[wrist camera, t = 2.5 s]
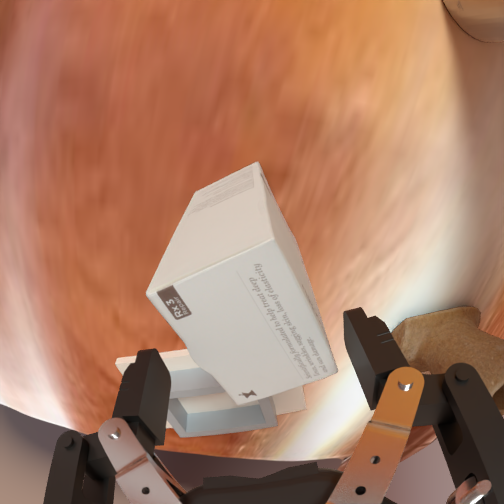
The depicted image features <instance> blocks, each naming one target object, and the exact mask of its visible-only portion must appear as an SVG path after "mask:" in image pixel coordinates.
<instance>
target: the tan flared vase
mask: <svg viewBox="0 0 504 504" xmlns="http://www.w3.org/2000/svg"><path fill="white" fill-rule="evenodd" d="M479 323H480V311H479V309H478V308H476V307H471V306H467V307H456V308H452V309H447V310H442V311H437V312H433V313H428V314H424V315H419V316H414V317H410V318H406V319H405V320H404V321H402V323H401V324H400V325H398V326H397V327H396V328H395V330H394V331H393V332H392V333H391V334H392V336H393V337H394V340H395V341H396V343H397V344H398V346H399V348H400V350H401V351H402V353H403V355H404V357H405V358H406V360H407V362H408V364H409V365H410V367H412V368H415V369H417V370H418V371H419V372H425V371H430V372H431V374H443V373H446V371H447V369H448V368H449V367H450V366H451V365H453V364H455V363H467V364H470V365H472V366H473V367H474V368H475V369H476V370H477V372H478V374H479V375H480V377H481V379H482V380H483V382H484V384H485V386H486V387H487V389H488V391H489V393H490V394H491V396H492V398H493V400H494V402H495V404H496V405H497V407H498V409H499V411H500V413H501V415H504V340H503V339H501V338H499V337H496V336H493V335H490V334H488V333H486V332H483V331H481V330H480V329H478V326H479Z"/></svg>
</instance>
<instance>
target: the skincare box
mask: <svg viewBox="0 0 504 504" xmlns="http://www.w3.org/2000/svg"><path fill="white" fill-rule="evenodd" d="M146 296H147V297H148V299H149V300H150V301H151V302H152V304H153V305H154V306H155V307H156V309H157V310H158V311H159V312H160V314H161V315H162V316H163V317H164V319H165V320H166V321H167V322H168V323H169V325H170V326H171V327H172V328H173V330H174V331H175V332H176V333H177V335H178V336H179V337H180V338H181V339H182V341H183V342H184V343H185V345H186V347H187V349H188V352H189V354H190V356H191V358H192V359H193V360H194V362H195V363H196V364H197V365H198V366H199V367H200V368H201V369H203V370H205V371H206V372H208V373H209V374H211V375H212V376H213V377H214V378H215V379H216V381H217V382H218V383H219V384H220V385H221V386H222V387H223V389H224V390H225V391H226V392H227V394H228V395H229V397H230V398H231V399H232V401H233V402H234V403H235V404H237V405H243V404H246V403H249V402H253V401H256V400H260V399H263V398H266V397H270V396H273V395H276V394H279V393H281V392H284V391H287V390H290V389H293V388H296V387H299V386H302V385H305V384H308V383H311V382H314V381H317V380H320V379H323V378H326V377H328V376H331V375H333V374H335V373H337V372H338V368H337V365H336V363H335V360H334V357H333V354H332V351H331V348H330V345H329V342H328V338H327V335H326V332H325V328H324V325H323V322H322V319H321V315H320V312H319V309H318V306H317V303H316V299H315V296H314V293H313V290H312V287H311V284H310V280H309V277H308V274H307V272H306V269H305V266H304V263H303V259H302V256H301V253H300V250H299V247H298V244H297V241H296V239H295V237H294V235H293V234H292V232H291V231H290V229H289V227H288V225H287V223H286V221H285V219H284V217H283V215H282V213H281V211H280V209H279V207H278V205H277V203H276V200H275V198H274V196H273V194H272V192H271V189H270V187H269V185H268V183H267V181H266V178H265V176H264V173H263V171H262V168H261V166H260V164H259V162H255V163H253V164H251V165H249V166H247V167H245V168H243V169H241V170H239V171H237V172H234V173H232V174H230V175H228V176H226V177H224V178H222V179H220V180H218V181H216V182H214V183H212V184H210V185H209V186H207V187H205V188H203V189H200V190H199V191H197V192H195V193H194V195H193V197H192V199H191V201H190V203H189V205H188V207H187V209H186V211H185V213H184V215H183V217H182V219H181V221H180V223H179V225H178V227H177V228H176V230H175V232H174V235H173V237H172V239H171V241H170V243H169V245H168V247H167V249H166V251H165V253H164V255H163V257H162V260H161V262H160V264H159V266H158V268H157V270H156V272H155V274H154V276H153V279H152V281H151V283H150V285H149V287H148V289H147V291H146Z"/></svg>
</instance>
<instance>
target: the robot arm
mask: <svg viewBox="0 0 504 504" xmlns="http://www.w3.org/2000/svg"><path fill="white" fill-rule="evenodd" d="M443 2H444V4H445V5H446V7H447V9H448V11H449V13H450V14H451V16H452V17H453V19H454V20H455V21H456V22H457V23H458V25H459V26H460V27H461V28H462V29H463V30H464V31H466V32H467V33H468V34H469V35H471V36H472V37H474V38H475V39H478V40H480V41H484V42H504V0H443ZM343 318H344V340H345V346H346V349H347V352H348V355H349V357H350V359H351V362H352V364H353V367H354V369H355V372H356V374H357V377H358V379H359V382H360V384H361V387H362V389H363V392H364V394H365V397H366V399H367V402H368V405H369V407H370V410H374V409H376V410H375V412H374V415H373V417H372V419H371V421H369V422H368V423H367V425H366V427H365V429H364V432H363V434H362V436H361V438H360V440H359V442H358V444H357V447H356V449H355V451H354V453H353V455H352V457H351V459H350V461H349V463H348V465H347V467H346V468H345V470H344V472H342V471H338V470H334V469H328V468H318V466H317V462H314V463H310V464H304V465H300V466H295V467H289V468H286V469H284V470H281V471H279V472H276V473H274V474H271V475H269V476H266V477H263V478H259V479H256V478H246V477H236V476H221V477H209V478H204V480H203V481H204V482H203V485H200V486H198V487H196V488H194V489H192V490H190V491H188V492H186V491H185V490H184V489H183V488H182V487H181V486H180V485H179V483H178V482H177V481H176V480H175V479H174V477H173V476H172V475H171V474H170V472H169V471H168V470H167V469H166V467H165V466H164V465H163V463H162V462H161V461H160V459H159V458H158V457H157V455H156V454H155V453H154V448H155V446H157V445H164V440H165V431H166V422H167V414H168V406H169V398H170V391H171V376H170V373H169V370H168V369H167V367H166V365H165V363H164V361H163V360H162V358H161V356H160V354H159V352H158V351H157V349H155V348H154V349H147V350H140V351H138V353H137V357H136V360H135V363H130V365H129V366H128V367H127V369H126V370H125V371H124V374H123V378H122V381H121V382H122V383H121V385H120V388H119V389H120V391H119V392H118V396H117V400H116V404H115V407H114V411H113V415H112V418H111V419H109V420H107V421H105V422H104V423H103V424H102V425H101V427H100V428H99V431H98V432H96V433H93V434H89V435H86V436H81V435H80V434H79V433H78V432H77V431H74V430H70V431H67V432H65V433H64V434H62V435H61V436H60V437H59V439H58V440H57V443H56V447H55V451H54V455H53V459H52V464H51V468H50V473H49V477H48V482H47V487H46V492H45V497H44V503H43V504H113V500H114V489H115V479H116V480H117V482H118V484H119V485H120V487H121V489H122V490H123V492H124V494H125V495H126V497H127V498H128V500H129V502H130V503H131V504H397V503H395V502H393V501H391V500H389V499H388V498H386V497H385V494H386V492H387V489H388V487H389V485H390V483H391V481H392V478H393V475H394V473H395V471H396V469H397V466H398V464H399V461H400V458H401V456H402V453H403V451H404V448H405V445H406V442H407V440H408V437H409V434H410V430H411V427H412V426H425V425H432V426H433V428H434V431H435V433H436V436H437V438H438V441H439V444H440V446H441V449H442V451H443V454H444V457H445V460H446V462H447V465H448V468H449V471H450V474H451V476H452V479H453V482H454V485H455V488H456V490H455V491H454V492H453V493H452V494H451V495H450V496H449V498H448V500H447V502H446V504H504V419H503V417H502V415H501V413H500V411H499V409H498V407H497V405H496V404H495V402H494V400H493V398H492V396H491V394H490V393H489V391H488V389H487V387H486V386H485V384H484V382H483V380H482V379H481V377H480V375H479V374H478V372H477V370H476V369H475V368H474V367H473V366H472V365H470V364H467V363H455V364H453V365H451V366H450V367H449V368H448V369H447V371H446V373H443V374H431V375H427V374H421V372H419V371H418V370H417V369H415V368H412V367H410V365H409V364H408V362H407V360H406V358H405V357H404V355H403V353H402V351H401V350H400V348H399V346H398V344H397V343H396V341H395V340H394V337H393V336H392V334H391V333H390V331H389V329H388V327H387V326H386V324H385V322H383V321H382V320H381V319H379V318H378V317H376V316H373V317H369V318H367V316H366V314H365V312H364V311H363V309H362V308H361V307H359V308H355V309H351V310H348V311H344V313H343ZM84 474H85V475H84ZM83 480H84V481H83ZM82 487H83V488H82Z"/></svg>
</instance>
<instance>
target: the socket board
mask: <svg viewBox="0 0 504 504" xmlns="http://www.w3.org/2000/svg"><path fill="white" fill-rule="evenodd" d="M159 354H160V356H161V358H162V360H163V361H164V363H165V365H166V367H167V369H168V370H169V373H170V376H171V391H170V398H169V406H168V414H167V422H166V428H173V429H174V430H175V431H176V432H177V434H178V435H179V436H180V437H195V436H207V435H217V434H227V433H235V432H243V431H250V430H256V429H263V428H269V427H275V426H278V423H277V416H276V415H281V414H286V413H291V412H296V411H301V410H305V409H306V403H305V398H304V392H303V386H299V387H296V388H293V389H290V390H287V391H284V392H281V393H279V394H276V395H273V396H270V397H266V398H263V399H260V400H256V401H253V402H249V403H246V404H243V405H237V404H235V403H234V402H233V401H232V399H231V398H230V397H229V395H228V394H227V392H226V391H225V390H224V389H223V387H222V386H221V385H220V384H219V383H218V382H217V381H216V379H215V378H214V377H213V376H212V375H211V374H209V373H208V372H206V371H205V370H203V369H201V368H200V367H199V366H198V365H197V364H196V363H195V362H194V360H193V359H192V358H191V356H190V354H189V352H188V349H183V350H177V351H170V352H163V353H159ZM136 357H137V356H131V357H122V358H117V360H116V363H115V365H116V366H117V368H118V369H119V371H120V372H121V373H122V375H123V374H124V371H125V370H126V369H127V367H128V366H129V365H130V363H135V360H136Z"/></svg>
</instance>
